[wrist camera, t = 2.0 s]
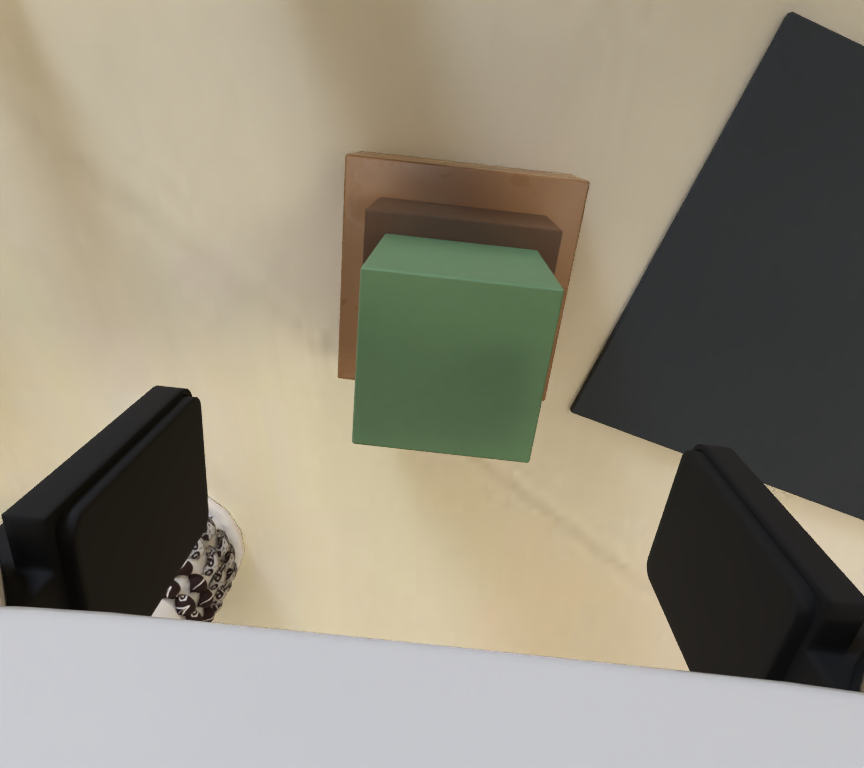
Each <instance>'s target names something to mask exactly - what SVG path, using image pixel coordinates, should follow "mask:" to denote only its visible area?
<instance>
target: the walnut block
mask: <svg viewBox="0 0 864 768" xmlns="http://www.w3.org/2000/svg"><path fill="white" fill-rule="evenodd" d="M385 234H396V235H405V236H413V237H422V238H431V239H440V240H449V241H458V242H467V243H476V244H485V245H494V246H503V247H512V248H521V249H530V250H537V251H538V252H539V254H540V255H541V257H542V258H543V260H544V261H545V263H546V264H547V265H548V267H549V268H550V270H551V271H552V273H553V274H554V275H555V269H556V264H557V259H558V254H559V249H560V244H561V239H562V234H563V231H562V230H561V229H560V228H559V227H558V226H557V225H556V224H555V223H553V222H552V221H551V220H550V219H549V218H548V217H547V216H546V215H537V214H528V213H519V212H510V211H501V210H492V209H483V208H474V207H465V206H456V205H447V204H438V203H429V202H420V201H411V200H402V199H393V198H385V197H380V198H378V199H377V200H376V201H375V202H374V203H372V204H371V205H370V206H369V207H368V208H366V210H365V224H364V244H363V264H364V263H365V262H366V260H367V259H368V257H369V256H370V255H371V253H372V252H373V250H374V249H375V248H376V246H377V245H378V243H379V242H380V241H381V239H382V238H383V236H384V235H385ZM363 264H362V266H363Z"/></svg>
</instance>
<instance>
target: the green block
mask: <svg viewBox="0 0 864 768" xmlns="http://www.w3.org/2000/svg"><path fill="white" fill-rule="evenodd" d="M563 295H564V289H563V288H562V286H561V285H560V283H559V282H558V280H557V279H556V277H555V276H554V274H553V273H552V271H551V270H550V268H549V267H548V265H547V264H546V263H545V261H544V260H543V258H542V257H541V255H540V254H539V252H538V251H537V250H530V249H521V248H512V247H503V246H494V245H485V244H476V243H467V242H458V241H449V240H440V239H431V238H422V237H413V236H405V235H396V234H385V235H384V236H383V238H382V239H381V241H380V242H379V243H378V245H377V246H376V248H375V249H374V250H373V252H372V253H371V255H370V256H369V257H368V259H367V260H366V262H365V263H364V264H363V266H362V267H361V271H360V291H359V311H358V332H357V352H356V373H355V393H354V413H353V434H352V442H353V443H354V444H362V445H371V446H380V447H390V448H399V449H408V450H417V451H426V452H435V453H444V454H453V455H462V456H471V457H480V458H489V459H498V460H507V461H516V462H526V463H528V462H529V461H530V456H531V451H532V446H533V441H534V436H535V432H536V427H537V422H538V417H539V412H540V407H541V402H542V397H543V393H544V388H545V383H546V378H547V373H548V368H549V363H550V358H551V353H552V349H553V344H554V339H555V334H556V329H557V324H558V319H559V314H560V310H561V305H562V300H563Z"/></svg>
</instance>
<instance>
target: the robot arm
mask: <svg viewBox="0 0 864 768" xmlns="http://www.w3.org/2000/svg"><path fill="white" fill-rule="evenodd" d="M1 516H2V519H3V524H1V525H0V768H864V596H863V594H862V593H861V592H860V591H859V590H858V589H857V588H856V587H855V586H854V584H853V583H852V582H851V581H850V580H849V579H848V578H847V577H846V575H845V574H844V573H843V572H842V571H841V570H840V569H839V568H838V567H837V565H836V564H835V563H834V562H833V561H832V560H831V559H830V558H829V556H828V555H827V554H826V553H825V552H824V551H823V550H822V549H821V548H820V546H819V545H818V544H817V543H816V542H815V541H814V540H813V539H812V537H811V536H810V535H809V534H808V533H807V532H806V531H805V530H804V529H803V527H802V526H801V525H800V524H799V523H798V522H797V521H796V520H795V518H794V517H793V516H792V515H791V514H790V513H789V512H788V511H787V510H786V508H785V507H784V506H783V505H782V504H781V503H780V502H779V501H778V499H777V498H776V497H775V496H774V495H773V494H772V493H771V492H770V491H769V489H768V488H767V487H766V486H765V485H764V484H763V483H762V482H761V480H760V479H759V478H758V477H757V476H756V475H755V474H754V473H753V472H752V470H751V469H750V468H749V467H748V466H747V465H746V464H745V463H744V461H743V460H742V459H741V458H740V457H739V456H738V455H737V454H736V453H735V451H734V450H733V449H731V448H730V447H722V446H713V445H704V444H698V445H696V446H695V447H694V448H693V449H692V451H691V450H687V451H685V452H684V454H683V456H682V458H681V461H680V464H679V467H678V470H677V473H676V476H675V479H674V482H673V485H672V488H671V491H670V494H669V497H668V500H667V503H666V506H665V509H664V512H663V515H662V518H661V521H660V524H659V527H658V530H657V533H656V536H655V539H654V542H653V545H652V548H651V550H650V553H649V556H648V560H647V573H648V577H649V580H650V582H651V585H652V587H653V589H654V591H655V594H656V596H657V598H658V600H659V603H660V605H661V607H662V609H663V612H664V614H665V616H666V618H667V621H668V623H669V625H670V627H671V630H672V632H673V634H674V636H675V639H676V641H677V643H678V645H679V648H680V650H681V652H682V654H683V657H684V659H685V661H686V663H687V666H688V668H689V670H690V671H681V670H672V669H663V668H653V667H644V666H635V665H626V664H616V663H607V662H597V661H587V660H577V659H568V658H558V657H548V656H538V655H528V654H519V653H509V652H499V651H489V650H480V649H470V648H460V647H450V646H440V645H431V644H421V643H411V642H402V641H392V640H382V639H373V638H363V637H353V636H344V635H334V634H324V633H315V632H305V631H295V630H286V629H275V628H265V627H255V626H244V625H234V624H224V623H214V622H203V621H193V620H183V619H173V618H162V617H152V614H153V613H154V611H155V609H156V608H157V606H158V605H159V603H160V601H161V600H162V598H163V597H164V595H165V593H166V592H167V590H168V589H169V587H170V585H171V584H172V582H173V581H174V579H175V578H176V576H177V574H178V573H179V571H180V570H181V568H182V566H183V565H184V563H185V562H186V560H187V558H188V557H189V555H190V554H191V552H192V550H193V549H194V547H195V546H196V544H197V542H198V541H199V539H200V538H201V536H202V534H203V533H204V531H205V529H206V526H207V522H208V517H209V508H208V494H207V481H206V467H205V454H204V440H203V427H202V413H201V403H200V400H199V399H198V398H197V397H192V394H191V392H190V391H189V390H188V389H184V388H175V387H165V386H155V387H153V388H152V389H151V390H149V391H148V392H147V393H146V394H145V395H144V396H142V397H141V398H140V399H139V400H138V401H136V402H135V403H134V404H133V405H132V406H130V407H129V408H128V409H127V410H126V411H124V412H123V413H122V414H121V415H120V416H119V417H117V418H116V419H115V420H114V421H113V422H111V423H110V424H109V425H108V426H107V427H105V428H104V429H103V430H102V431H101V432H99V433H98V434H97V435H96V436H95V437H94V438H92V439H91V440H90V441H89V442H88V443H86V444H85V445H84V446H83V447H82V448H80V449H79V450H78V451H77V452H76V453H75V454H73V455H72V456H71V457H70V458H69V459H67V460H66V461H65V462H64V463H63V464H61V465H60V466H59V467H58V468H57V469H55V470H54V471H53V472H52V473H51V474H50V475H48V476H47V477H46V478H45V479H44V480H42V481H41V482H40V483H39V484H38V485H36V486H35V487H34V488H33V489H32V490H31V491H29V492H28V493H27V494H26V495H25V496H23V497H22V498H21V499H20V500H19V501H17V502H16V503H15V504H14V505H13V506H11V507H10V508H9V509H8V510H7V511H6V512H4V513H3V514H2V515H1Z"/></svg>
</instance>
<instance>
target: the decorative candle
mask: <svg viewBox="0 0 864 768" xmlns="http://www.w3.org/2000/svg"><path fill="white" fill-rule="evenodd" d="M208 508H209V517H208V522H207V526H206V529H205V531H204V533H203V534H202V536H201V538H200V539H199V541H198V542H197V544H196V546H195V547H194V549H193V550H192V552H191V554H190V555H189V557H188V558H187V560H186V562H185V563H184V565H183V566H182V568H181V570H180V571H179V573H178V574H177V576H176V578H175V579H174V581H173V582H172V584H171V585H170V587H169V589H168V590H167V592H166V593H165V595H164V597H163V598H162V600H161V601H160V603H159V605H158V606H157V608H156V609H155V611H154V613H153V614H152V617H162V618H173V619H183V620H193V621H203V622H211V621H212V620H213V618H214V616H215V614H216V613H217V612H218V611H219V609H220V608H221V606H222V600H223V599H224V597H225V596H226V594H227V592H228V591H229V589H230V588H231V585H232V582H231V581H232V580H233V579H234V577H235V576H236V573H237V571H238V569H239V566H240V563H241V560H242V557H243V554H244V545H243V540H242V534H241V530H240V529H239V527H238V526H237V524H236V523H235V522H234V520H233V519H232V517H231V516H230V514H229V513H228V511H226V510H225V509H224V508H222V507H221V506H220V505H218V504H217V503H216V502H214V501H213V500H212V499H210V498H209V497H208Z"/></svg>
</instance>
